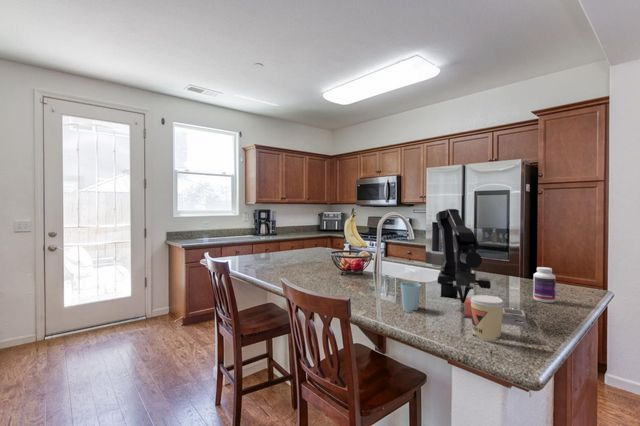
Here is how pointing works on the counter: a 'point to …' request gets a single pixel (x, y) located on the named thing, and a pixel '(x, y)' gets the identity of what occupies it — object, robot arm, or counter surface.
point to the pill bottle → (544, 285)
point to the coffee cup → (486, 317)
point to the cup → (410, 296)
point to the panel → (510, 317)
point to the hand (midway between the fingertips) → (463, 302)
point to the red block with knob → (468, 307)
